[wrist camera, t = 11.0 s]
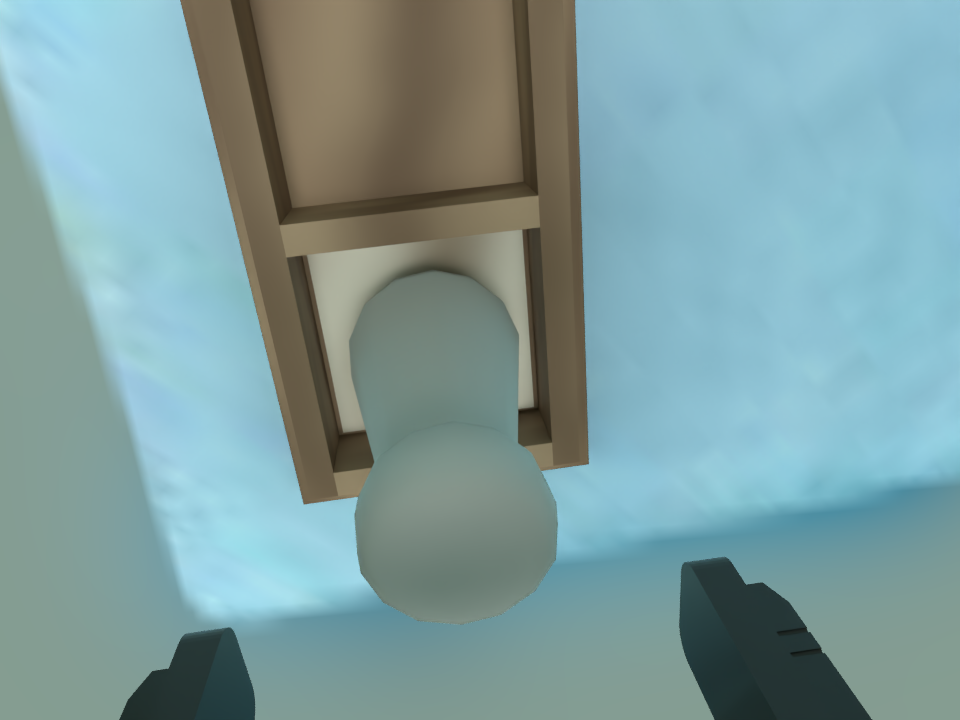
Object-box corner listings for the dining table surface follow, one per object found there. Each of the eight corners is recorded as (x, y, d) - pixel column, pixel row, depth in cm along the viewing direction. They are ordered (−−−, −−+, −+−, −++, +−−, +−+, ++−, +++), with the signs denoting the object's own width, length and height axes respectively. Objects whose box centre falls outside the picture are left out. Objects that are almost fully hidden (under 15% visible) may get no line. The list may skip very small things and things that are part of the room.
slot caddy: (561, -212, 20) (593, -265, 16) (583, 454, 29) (606, 501, 26) (143, -180, 19) (92, -229, 16) (306, 492, 28) (294, 547, 25)
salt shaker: (506, 395, 26) (593, 664, 15) (359, 402, 26) (326, 688, 14) (510, 250, 24) (616, 430, 12) (348, 254, 23) (296, 447, 12)
